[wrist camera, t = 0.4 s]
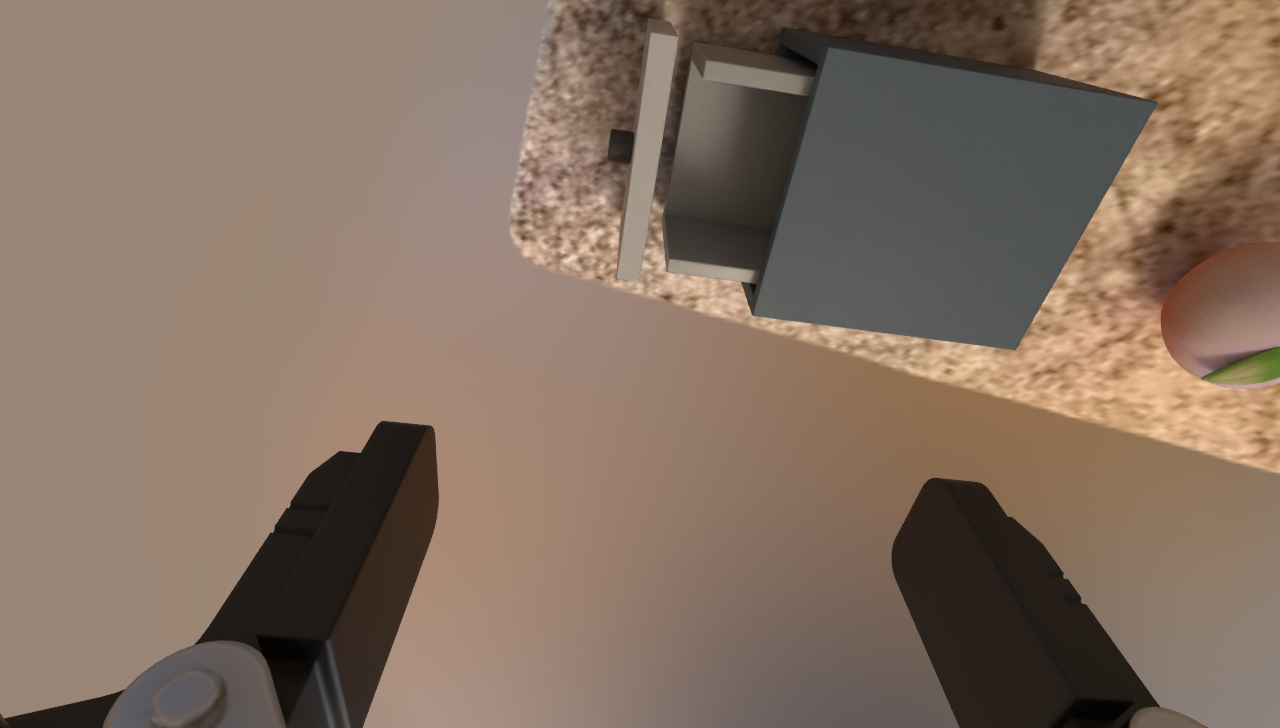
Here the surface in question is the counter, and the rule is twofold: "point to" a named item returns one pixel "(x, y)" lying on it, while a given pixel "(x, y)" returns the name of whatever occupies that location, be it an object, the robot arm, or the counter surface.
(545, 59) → the counter surface
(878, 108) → the cabinet
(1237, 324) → the decorative fruit
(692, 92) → the drawer
